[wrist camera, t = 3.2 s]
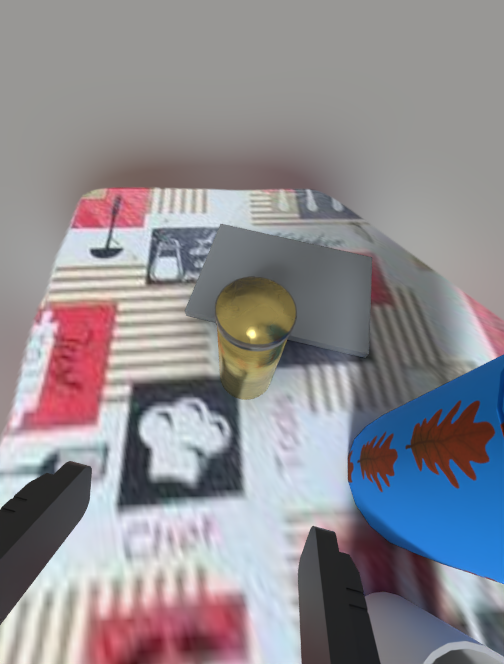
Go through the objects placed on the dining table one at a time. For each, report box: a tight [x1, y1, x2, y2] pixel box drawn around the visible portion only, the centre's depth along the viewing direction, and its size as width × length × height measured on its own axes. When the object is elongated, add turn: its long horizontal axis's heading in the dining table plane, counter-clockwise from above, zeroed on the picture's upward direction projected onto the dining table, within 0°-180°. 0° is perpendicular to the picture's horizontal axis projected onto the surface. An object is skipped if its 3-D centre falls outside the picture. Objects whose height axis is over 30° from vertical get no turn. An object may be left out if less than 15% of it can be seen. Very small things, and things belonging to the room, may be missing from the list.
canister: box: [215, 276, 297, 400], centre depth 24 cm, size 5×5×12 cm
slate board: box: [185, 224, 372, 358], centre depth 35 cm, size 20×14×1 cm
